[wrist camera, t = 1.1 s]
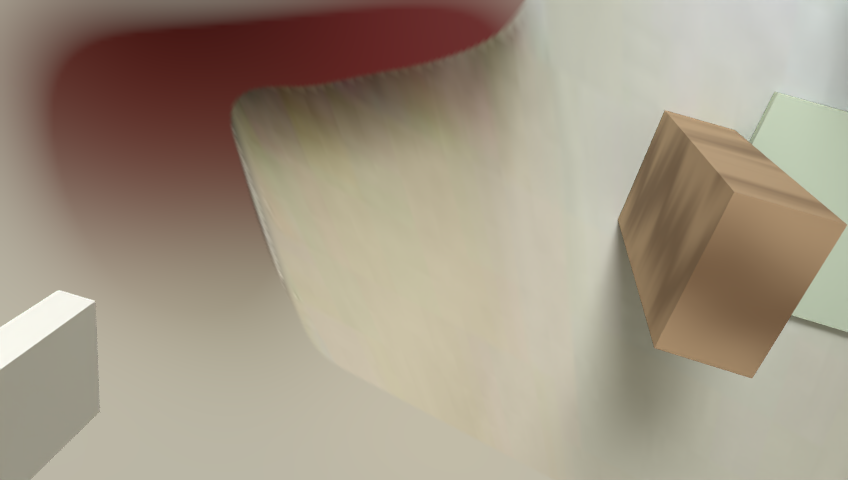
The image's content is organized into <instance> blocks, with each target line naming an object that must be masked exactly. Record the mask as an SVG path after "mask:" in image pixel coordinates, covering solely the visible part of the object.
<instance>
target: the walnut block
mask: <svg viewBox="0 0 848 480" xmlns="http://www.w3.org/2000/svg"><path fill="white" fill-rule="evenodd" d="M618 222H619V225H620V229H621V232H622V236H623V239H624V243H625V247H626V250H627V254H628V257H629V261H630V264H631V268H632V271H633V275H634V278H635V282H636V285H637V289H638V292H639V296H640V299H641V303H642V306H643V310H644V313H645V317H646V320H647V324H648V327H649V331H650V334H651V338H652V341H653V345H654V348H656V349H659V350H663V351H666V352H669V353H672V354H675V355H679V356H682V357H685V358H688V359H691V360H695V361H698V362H701V363H704V364H708V365H711V366H714V367H717V368H720V369H724V370H727V371H730V372H733V373H736V374H740V375H743V376H746V377H749V378H753V376H754V375H755V373H756V371H757V370H758V368H759V367H760V365H761V363H762V362H763V360H764V358H765V357H766V355H767V354H768V352H769V350H770V349H771V347H772V346H773V344H774V342H775V341H776V339H777V338H778V336H779V334H780V333H781V331H782V329H783V328H784V326H785V325H786V323H787V321H788V320H789V318H790V317H791V315H792V313H793V312H794V310H795V309H796V307H797V305H798V304H799V302H800V300H801V299H802V297H803V296H804V294H805V292H806V291H807V289H808V288H809V286H810V284H811V283H812V281H813V280H814V278H815V276H816V275H817V273H818V271H819V270H820V268H821V267H822V265H823V263H824V262H825V260H826V259H827V257H828V255H829V254H830V252H831V251H832V249H833V247H834V246H835V244H836V242H837V241H838V239H839V238H840V236H841V234H842V233H843V231H844V230H845V228H846V226H847V224H846V223H845V222H844V221H842V220H841V219H840V218H839V217H838V216H836V215H835V214H834V213H833V212H832V211H830V210H829V209H828V208H827V207H826V206H824V205H823V204H822V203H821V202H820V201H819V200H817V199H816V198H815V197H814V196H813V195H811V194H810V193H809V192H808V191H807V190H805V189H804V188H803V187H802V186H801V185H799V184H798V183H797V182H796V181H795V180H794V179H792V178H791V177H790V176H789V175H788V174H786V173H785V172H784V171H783V170H782V169H780V168H779V167H778V166H777V165H776V164H774V163H773V162H772V161H771V160H770V159H769V158H767V157H766V156H765V155H764V154H763V153H761V152H760V151H759V150H758V149H757V148H755V147H754V146H753V145H752V144H751V143H749V142H748V141H747V140H746V139H745V138H744V137H742V136H741V135H740V134H739V133H738V132H736V131H735V130H732V129H729V128H725V127H722V126H718V125H715V124H711V123H708V122H704V121H701V120H697V119H694V118H690V117H687V116H683V115H680V114H676V113H672V112H669V111H664V113H663V116H662V118H661V120H660V123H659V125H658V127H657V130H656V132H655V134H654V137H653V139H652V141H651V144H650V146H649V148H648V151H647V153H646V155H645V158H644V160H643V162H642V165H641V167H640V169H639V172H638V174H637V176H636V179H635V181H634V183H633V186H632V188H631V190H630V193H629V195H628V197H627V200H626V202H625V204H624V207H623V209H622V211H621V214H620V216H619V218H618Z"/></svg>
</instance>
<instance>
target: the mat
mask: <svg viewBox="0 0 848 480" xmlns="http://www.w3.org/2000/svg"><path fill="white" fill-rule="evenodd" d="M749 143H751V144H752V145H753V146H754V147H755V148H757V149H758V150H759V151H760V152H761V153H763V154H764V155H765V156H766V157H767V158H769V159H770V160H771V161H772V162H773V163H774V164H776V165H777V166H778V167H779V168H780V169H782V170H783V171H784V172H785V173H786V174H788V175H789V176H790V177H791V178H792V179H794V180H795V181H796V182H797V183H798V184H799V185H801V186H802V187H803V188H804V189H805V190H807V191H808V192H809V193H810V194H811V195H813V196H814V197H815V198H816V199H817V200H819V201H820V202H821V203H822V204H823V205H824V206H826V207H827V208H828V209H829V210H830V211H832V212H833V213H834V214H835V215H836V216H838V217H839V218H840V219H841V220H842V221H844V222H845V223H846V224H847V226H846V228H845V230H844V231H843V233H842V234H841V236H840V238H839V239H838V241H837V242H836V244H835V246H834V247H833V249H832V251H831V252H830V254H829V255H828V257H827V259H826V260H825V262H824V263H823V265H822V267H821V268H820V270H819V271H818V273H817V275H816V276H815V278H814V280H813V281H812V283H811V284H810V286H809V288H808V289H807V291H806V292H805V294H804V296H803V297H802V299H801V300H800V302H799V304H798V305H797V307H796V309H795V310H794V312H793V313H792V315H793V316H796V317H799V318H802V319H806V320H809V321H812V322H816V323H819V324H822V325H826V326H829V327H832V328H835V329H839V330H842V331H845V332H848V112H846V111H843V110H839V109H835V108H832V107H828V106H825V105H821V104H817V103H814V102H810V101H807V100H803V99H799V98H796V97H792V96H789V95H785V94H781V93H778V92H774V94H773V96H772V98H771V100H770V102H769V104H768V106H767V108H766V110H765V112H764V114H763V116H762V118H761V120H760V122H759V124H758V126H757V128H756V130H755V132H754V134H753V136H752V138H751V140H750V142H749Z"/></svg>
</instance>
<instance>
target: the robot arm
mask: <svg viewBox="0 0 848 480" xmlns="http://www.w3.org/2000/svg"><path fill="white" fill-rule="evenodd" d="M95 302H96V301H94V300H90V299H87V298H83V297H80V296H77V295H73V294H70V293H67V292H63V291H60V290H58V291H56V292H55V293H53V294H51V295H50V296H48V297H47V298H45V299H44V300H42V301H41V302H39V303H37V304H36V305H34V306H33V307H31V308H30V309H28V310H27V311H25V312H23V313H22V314H20V315H19V316H17V317H16V318H14V319H13V320H11V321H9V322H8V323H7V324H5V325H3V326H2V327H0V480H30V479H31V478H33V477H34V475H36V474H37V473H38V472H39V471H40V470H41V469H42V468H43V467H44V466H45V465H46V464H47V463H48V462H49V461H50V460H51V459H52V458H53V457H54V456H55V455H56V454H57V453H58V452H59V451H60V450H61V449H62V448H63V447H64V446H65V445H66V444H67V443H68V442H69V441H70V440H71V439H72V438H73V437H74V436H75V435H76V434H78V433H79V432H80V431H81V430H82V429H83V428H84V427H85V426H86V425H87V424H88V423H89V422H90V421H91V420H92V419H93V418H94V417H95V416H96V415H97V414H98V413H99V412H100V405H99V382H98V381H99V379H98V355H97V354H98V353H97V327H96V303H95Z"/></svg>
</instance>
